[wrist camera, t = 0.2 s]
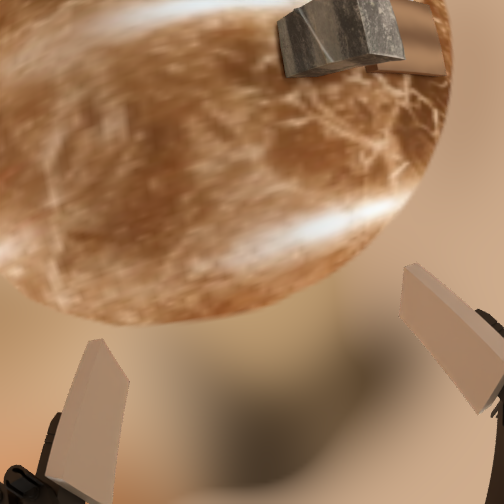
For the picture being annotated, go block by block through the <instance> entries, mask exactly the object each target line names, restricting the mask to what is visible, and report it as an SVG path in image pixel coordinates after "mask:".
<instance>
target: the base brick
mask: <svg viewBox="0 0 504 504" xmlns="http://www.w3.org/2000/svg"><path fill="white" fill-rule="evenodd" d="M390 3H391V6H392V9H393V11H394V14H395V17H396V21H397V25H398V29H399V33H400V37H401V39H402V43H403V47H404V52H405V57H406V60H401V61H390V62H384V63H380V64H374V65H366V71H367V73H397V74H412V75H424V76H433V77H435V76H447V75H446V69H445V64H444V59H443V54H442V50H441V46H440V41H439V37H438V33H437V30H436V26H435V22H434V19H433V16H432V12H431V9H430V6H429V5H427V4H423V3H419V2H416V1H412V0H390Z"/></svg>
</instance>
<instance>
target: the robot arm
mask: <svg viewBox="0 0 504 504" xmlns="http://www.w3.org/2000/svg"><path fill="white" fill-rule="evenodd" d="M399 317H400V318H401V319H402V321H403V322H404V323H405V324H406V325H407V326H408V327H409V329H410V330H411V331H412V332H413V333H414V335H415V336H416V337H417V338H418V339H419V340H420V342H421V343H422V344H423V345H424V347H426V349H427V350H428V351H429V352H430V354H431V355H432V356H433V357H434V359H435V360H436V361H437V362H438V364H439V365H440V366H441V367H442V369H443V370H444V371H445V373H446V374H447V375H448V376H449V378H450V379H451V380H452V381H453V383H454V384H455V385H456V387H457V388H458V389H459V390H460V392H461V393H462V394H463V396H464V397H465V398H466V400H467V401H468V402H469V404H470V405H471V407H472V408H473V409H474V411H475V412H476V414H477V415H479V414H480V413H482V412H483V411H484V410H485V409H487V408H488V407H490V406H491V405H492V403H493V402H494V400H495V399H496V397H497V396H498V397H499V398H500V401H499V403H498V404H497V406H496V407H495V409H494V410H493V411H492V413H491V418H493V416H494V415H495V414H496V412H497V411H498V414H497V416H496V418H498V420H497V434H496V435H497V436H496V445H495V454H494V460H493V467H492V473H491V478H490V484H489V488H488V493H487V497H486V502H485V504H504V327H503V326H502V325H500V323H497V321H496V320H495V319H494V318H493V317H492V316H491V315H490V314H488V313H486V312H484V311H482V310H480V309H477V310H475V311H474V310H473V309H472V308H471V307H470V306H469V305H467V304H466V303H465V302H464V301H463V300H462V299H461V298H460V297H458V296H457V295H456V294H455V293H454V292H453V291H451V290H450V289H449V288H448V287H446V286H445V285H444V284H443V283H442V282H441V281H439V280H438V279H437V278H436V277H435V276H433V275H432V274H431V273H430V272H428V271H427V270H426V269H425V268H423V267H422V266H421V265H420V264H418V263H414V264H411V265H408V266H405V267H404V273H403V284H402V293H401V302H400V310H399ZM129 383H130V381H129V379H128V378H127V376H126V375H125V373H124V372H123V370H122V369H121V367H120V366H119V364H118V363H117V361H116V359H115V358H114V356H113V355H112V353H111V351H110V350H109V348H108V346H107V345H106V343H105V341H104V340H103V339H97V340H91V341H89V342H88V344H87V346H86V349H85V351H84V354H83V356H82V359H81V361H80V364H79V366H78V369H77V372H76V374H75V377H74V380H73V382H72V385H71V388H70V390H69V394H68V396H67V399H66V402H65V405H64V408H63V411H62V413H60V412H58V413H57V414H56V415H55V417H54V418H53V419H52V421H51V423H50V426H49V429H48V432H47V434H48V435H46V439H45V444H44V446H43V449H42V453H41V456H40V460H39V464H38V468H37V472H36V475H33V474H32V473H31V472H29V471H28V470H27V469H25V468H24V467H22V466H21V465H14V466H11V467H10V468H9V469H8V470H7V472H6V474H5V476H4V484H3V483H1V482H0V504H85V501H86V502H87V503H89V504H112V501H113V489H114V480H115V470H116V462H117V455H118V447H119V440H120V433H121V427H122V421H123V415H124V409H125V403H126V398H127V393H128V387H129Z"/></svg>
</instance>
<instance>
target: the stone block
mask: <svg viewBox="0 0 504 504" xmlns="http://www.w3.org/2000/svg"><path fill="white" fill-rule="evenodd" d="M277 25H278V31H279V38H280V47H281V52H282V56H283V62H284V69H285V75H286V77H287V78H290V77H318V76H322V75H326V74H330V73H335V72H339V71H343V70H347V69H351V68H355V67H361V66H366V65H374V64H380V63H384V62H390V61H401V60H406V57H405V52H404V47H403V43H402V39H401V37H400V33H399V29H398V25H397V21H396V17H395V14H394V11H393V9H392V6H391V3H390V0H312V1H310V2H309V3H307V4H305V5H304V6H302V7H300V8H296V9H294V11H293V12H291V13H289V14H288V15H286V16H285V17H283V18H282V19H280V20H279V21H277Z"/></svg>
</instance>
